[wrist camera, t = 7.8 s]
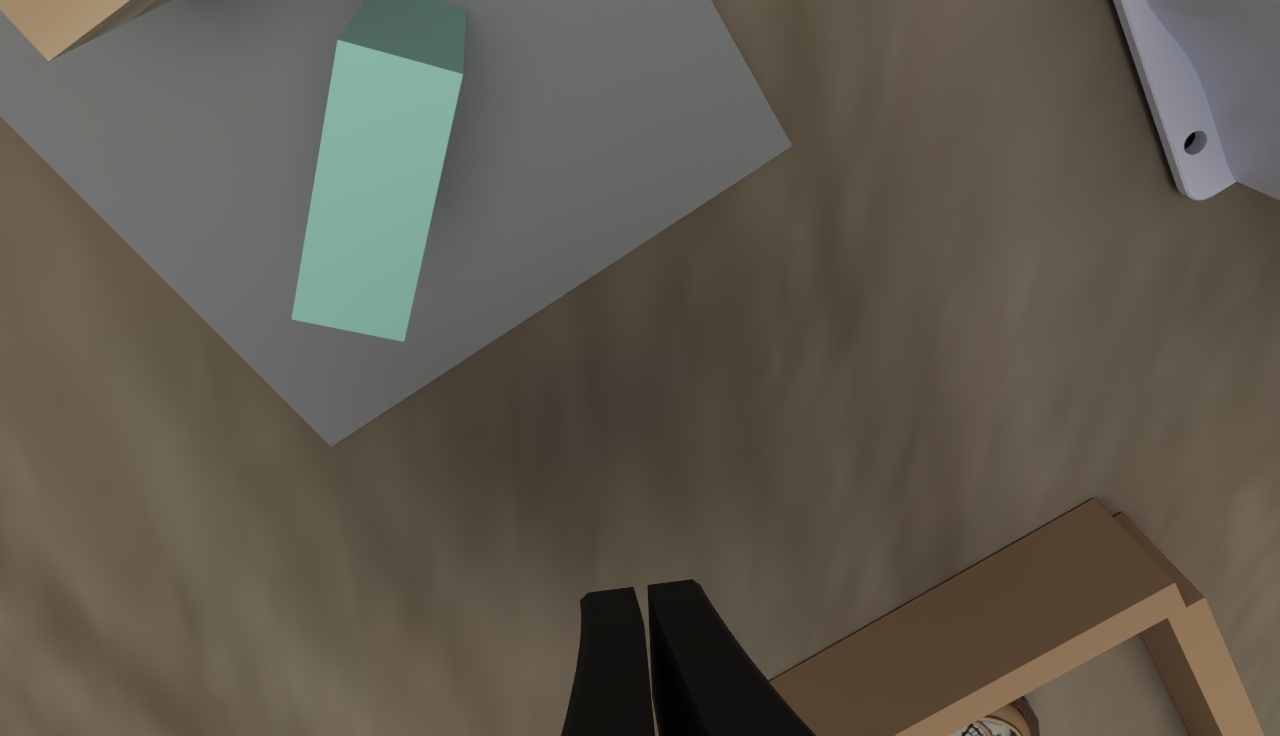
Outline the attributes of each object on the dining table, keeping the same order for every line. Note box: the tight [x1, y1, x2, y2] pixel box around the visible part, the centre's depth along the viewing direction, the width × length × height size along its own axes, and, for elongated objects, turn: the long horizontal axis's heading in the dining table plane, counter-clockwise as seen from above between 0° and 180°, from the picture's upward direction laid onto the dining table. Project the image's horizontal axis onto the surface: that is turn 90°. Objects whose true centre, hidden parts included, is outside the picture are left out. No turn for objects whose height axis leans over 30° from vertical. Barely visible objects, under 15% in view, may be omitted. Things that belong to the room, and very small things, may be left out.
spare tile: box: [292, 0, 467, 342], centre depth 16 cm, size 2×4×6 cm, turn 162°
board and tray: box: [0, 0, 1264, 736], centre depth 19 cm, size 56×15×4 cm, turn 32°
